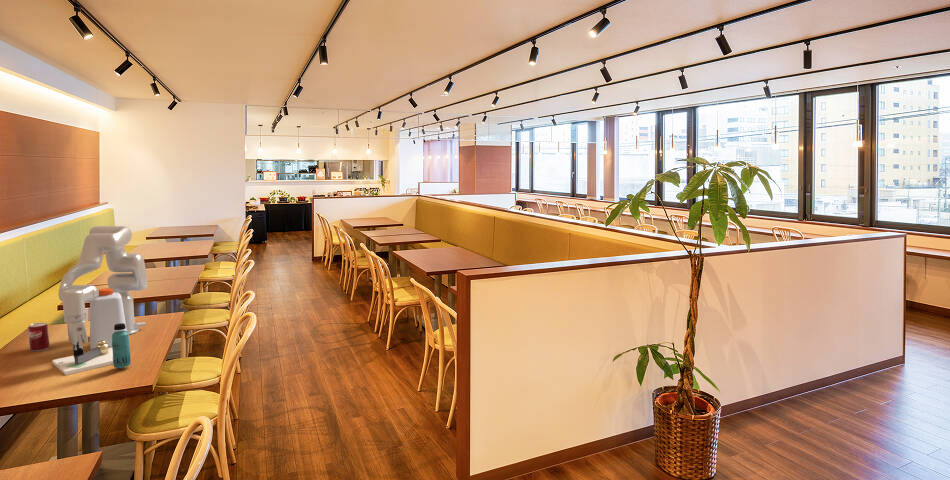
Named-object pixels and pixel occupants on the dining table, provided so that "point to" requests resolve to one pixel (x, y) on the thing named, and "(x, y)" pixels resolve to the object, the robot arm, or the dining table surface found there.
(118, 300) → the plastic bottle
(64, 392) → the dining table surface
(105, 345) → the lever
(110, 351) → the dial plate
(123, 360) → the beverage bottle
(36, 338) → the soda can
